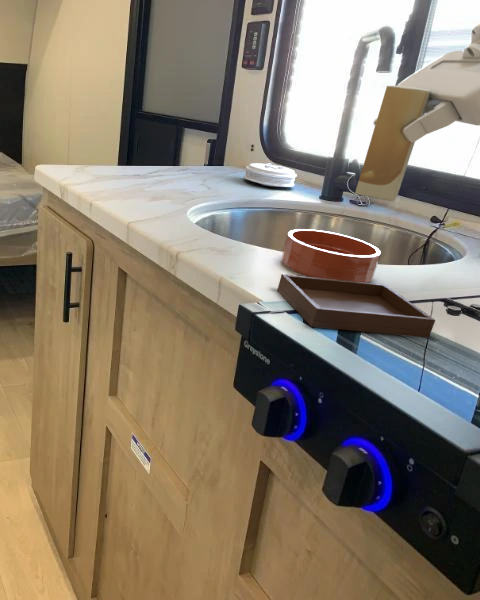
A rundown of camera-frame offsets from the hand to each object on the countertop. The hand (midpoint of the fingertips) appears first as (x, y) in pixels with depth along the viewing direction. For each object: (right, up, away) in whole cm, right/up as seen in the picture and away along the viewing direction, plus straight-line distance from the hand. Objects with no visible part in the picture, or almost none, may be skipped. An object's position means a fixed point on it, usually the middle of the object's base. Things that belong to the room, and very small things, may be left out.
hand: (390, 132), depth 68 cm
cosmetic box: (0, -7, +3) cm, 7 cm away
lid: (+13, +10, +85) cm, 87 cm away
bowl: (+1, -15, +20) cm, 25 cm away
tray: (-2, -21, +5) cm, 22 cm away
